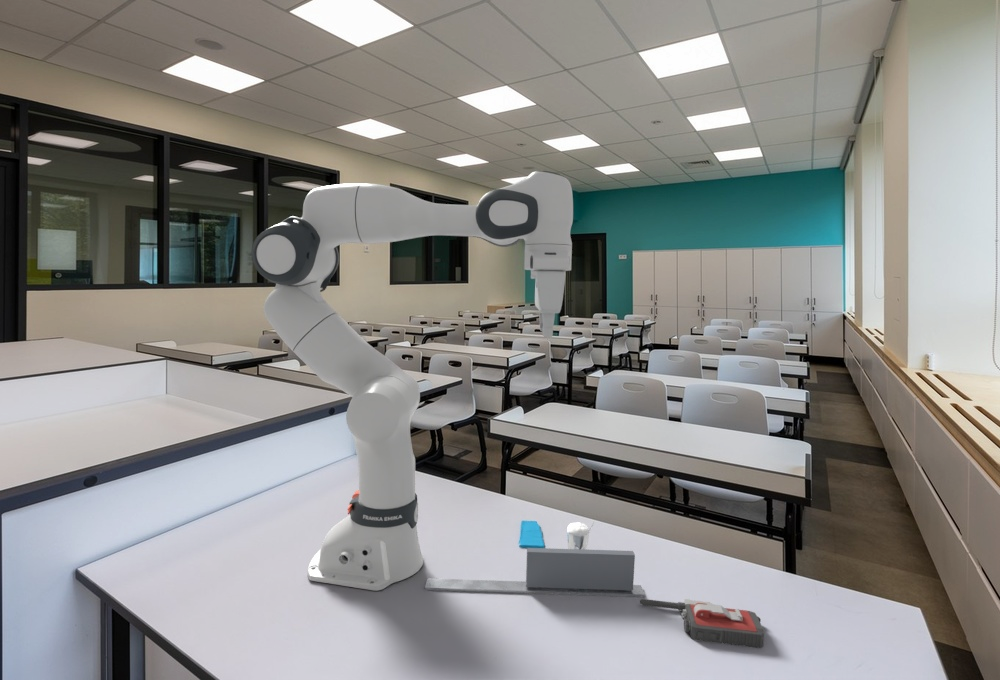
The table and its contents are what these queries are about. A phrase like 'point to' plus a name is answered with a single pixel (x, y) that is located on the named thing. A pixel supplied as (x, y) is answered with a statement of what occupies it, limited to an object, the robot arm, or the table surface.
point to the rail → (521, 588)
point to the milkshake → (578, 535)
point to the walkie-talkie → (716, 622)
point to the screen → (580, 569)
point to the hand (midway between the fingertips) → (545, 334)
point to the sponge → (531, 535)
